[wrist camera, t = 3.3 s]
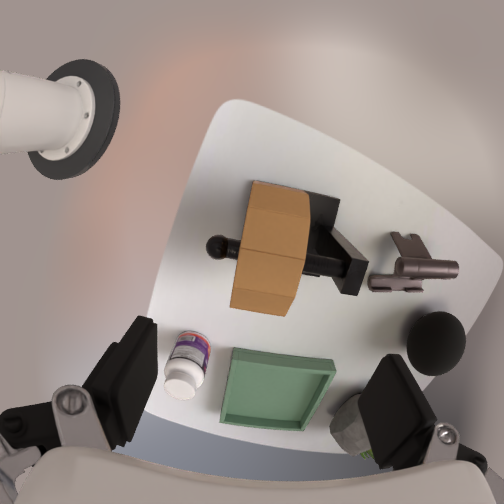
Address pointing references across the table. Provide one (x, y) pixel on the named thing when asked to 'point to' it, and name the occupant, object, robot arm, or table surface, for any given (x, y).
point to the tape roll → (271, 249)
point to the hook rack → (315, 247)
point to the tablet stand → (412, 267)
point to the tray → (274, 390)
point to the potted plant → (350, 429)
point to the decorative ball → (436, 343)
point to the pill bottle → (186, 365)
